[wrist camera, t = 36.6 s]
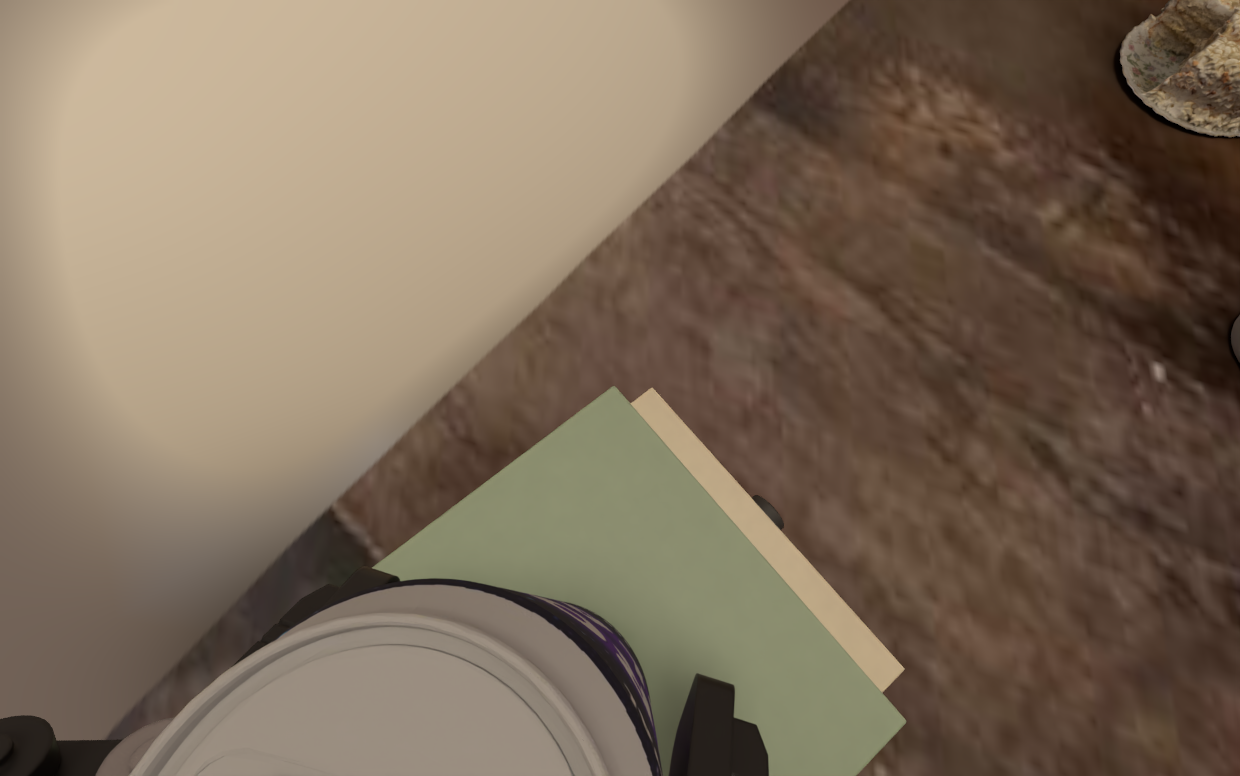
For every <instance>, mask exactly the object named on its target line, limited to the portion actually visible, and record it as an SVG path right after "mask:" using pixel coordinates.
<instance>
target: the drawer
mask: <svg viewBox="0 0 1240 776" xmlns="http://www.w3.org/2000/svg"><path fill="white" fill-rule="evenodd" d="M631 405H632V406H633V407H634V408H635V410H636V411H637V412H638V413H639V414H640V415H641V416H642V418H643V419H644V420H645V421H646V422H647V423H648V424H649V426H650V427H651V428H652V429H653V430H654V431H655V433H656V434H657V435H658V436H659V437H660V438H661V439H662V441H663V442H664V443H665V444H666V445H667V446H668V447H669V449H670V450H671V451H672V452H673V453H674V454H675V455H676V457H677V458H678V459H679V460H680V461H681V462H682V464H683V465H684V466H685V467H686V468H687V469H688V470H689V472H690V473H691V474H692V475H693V476H694V477H695V478H696V480H697V481H698V482H699V483H700V484H701V485H702V487H703V488H704V489H705V490H706V491H707V492H708V493H709V495H710V496H711V497H712V498H713V499H714V500H715V501H716V503H717V504H718V505H719V506H720V507H721V508H722V509H723V511H724V512H725V513H726V514H727V515H728V516H729V518H730V519H731V520H732V521H733V522H734V523H735V524H736V526H737V527H738V528H739V529H740V530H741V531H742V532H743V534H744V535H745V536H746V537H747V538H748V539H749V540H750V542H751V543H752V544H753V545H754V546H755V547H756V549H757V550H758V551H759V552H760V553H761V554H762V555H763V557H764V558H765V559H766V560H767V561H768V562H769V563H770V565H771V566H772V567H773V568H774V569H775V570H776V571H777V573H778V574H779V575H780V576H781V577H782V578H783V580H784V581H785V582H786V583H787V584H788V585H789V586H790V588H791V589H792V590H793V591H794V592H795V593H796V594H797V596H798V597H799V598H800V599H801V600H802V601H803V602H804V604H805V605H806V606H807V607H808V608H809V609H810V611H811V612H812V613H813V614H814V615H815V616H816V617H817V619H818V620H819V621H820V622H821V623H822V624H823V625H824V627H825V628H826V629H827V630H828V631H829V632H830V634H831V635H832V636H833V637H834V638H835V639H836V640H837V642H838V643H839V644H840V645H841V646H842V647H843V648H844V650H845V651H846V652H847V653H848V654H849V655H850V656H851V658H852V659H853V660H854V661H855V662H856V663H857V665H858V666H859V667H860V668H861V669H862V670H863V671H864V673H865V674H866V675H867V676H868V677H869V678H870V679H871V681H872V682H873V683H874V684H875V685H876V686H877V687H878V689H879V690H880V691H881V692H883V691H884V690H885V689H886V688H887V687H888V686H889V685H890V684H891V683H892V682H893V681H894V680H895V679H896V678H897V677H898V676H899V675H900V674H901V673H902V672H903V671H904V667H903V666H902V665H901V664H900V663H899V662H898V661H897V660H896V659H895V657H894V656H893V655H892V654H891V653H890V652H889V651H888V650H887V648H886V647H885V646H884V645H883V644H882V643H881V642H880V641H879V640H878V638H877V637H876V636H875V635H874V634H873V633H872V632H871V631H870V630H869V628H868V627H867V626H866V625H865V624H864V623H863V622H862V621H861V620H860V618H859V617H858V616H857V615H856V614H855V613H854V612H853V611H852V609H851V608H850V607H849V606H848V605H847V604H846V603H845V602H844V601H843V599H842V598H841V597H840V596H839V595H838V594H837V593H836V592H835V591H834V589H833V588H832V587H831V586H830V585H829V584H828V583H827V582H826V581H825V579H824V578H823V577H822V576H821V575H820V574H819V573H818V572H817V570H816V569H815V568H814V567H813V566H812V565H811V564H810V563H809V562H808V560H807V559H806V558H805V557H804V556H803V555H802V554H801V553H800V552H799V550H798V549H797V548H796V547H795V546H794V545H793V544H792V543H791V541H790V540H789V539H788V538H787V537H786V536H785V535H784V534H783V533H782V531H781V529H782V528H783V527H784V523H783V520H782V518H781V517H780V515H779V514H778V512H777V511H776V510H775V509H774V507H773V506H772V505H771V504H770V503H768V502H767V501H766V500H765V499H763V498H762V497H760V496H758V495H755V496H753V497H752V498H751V497H750V496H749V495H748V494H747V492H746V491H745V490H744V489H743V488H742V487H741V486H740V485H739V484H738V482H737V481H736V480H735V479H734V478H733V477H732V476H731V475H730V474H729V472H728V471H727V470H726V469H725V468H724V467H723V466H722V465H721V463H720V462H719V461H718V460H717V459H716V458H715V457H714V456H713V455H712V453H711V452H710V451H709V450H708V449H707V448H706V447H705V446H704V445H703V443H702V442H701V441H700V440H699V439H698V438H697V437H696V436H695V435H694V433H693V432H692V431H691V430H690V429H689V428H688V427H687V426H686V424H685V423H684V422H683V421H682V420H681V419H680V418H679V417H678V416H677V414H676V413H675V412H674V411H673V410H672V409H671V408H670V407H669V406H668V404H667V403H666V402H665V401H664V400H663V399H662V398H661V397H660V396H659V394H658V393H657V392H656V391H655V390H654V389H653V388H650V389H649V390H648V391H646V392H645V393H644V394H642V395H641V396H640V397H639V398H637V399H636V400H635V401H633V402H632V403H631Z"/></svg>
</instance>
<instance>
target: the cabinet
mask: <svg viewBox="0 0 1240 776" xmlns="http://www.w3.org/2000/svg"><path fill="white" fill-rule="evenodd" d="M372 568H373V569H376V570H379V571H382V572H386V573H389V574H392V575H395V576H398V577H399V578H400V581H406V580H413V579H429V578H440V579H457V580H466V581H472V582H477V583H482V584H487V585H491V586H496V587H500V588H505V589H509V590H514V591H518V592H523V593H527V594H532V595H536V596H540V597H545V598H549V599H554V600H558V601H563V602H567V603H572V604H575V605H578V606H581V607H584V608H586V609H588V610H590V611H592V612H594V613H596V614H597V615H599V616H601V617H602V618H603V619H605V620H606V621H607V622H609V623H610V624H611V625H612V626H613V627H614V628H615V629H616V630H617V631H618V632H619V633H620V634H621V635H622V636H623V637H624V638H625V640H626V641H627V643H628V644H629V645H630V647H631V648H632V650H633V652H634V653H635V655H636V657H637V659H638V661H639V663H640V665H641V668H642V670H643V673H644V676H645V679H646V682H647V686H648V691H649V695H650V701H651V707H652V713H653V719H654V725H655V731H656V737H657V742H658V748H659V754H660V760H661V766H662V772H663V776H669V771H670V764H671V757H672V751H673V746H674V741H675V737H676V732H677V729H678V725H679V722H680V719H681V716H682V713H683V710H684V707H685V704H686V701H687V698H688V695H689V692H690V689H691V686H692V683H693V680H694V677H695V675H696V673H699V674H702V675H705V676H708V677H711V678H714V679H717V680H721V681H724V682H727V683H730V684H733V685H734V687H735V705H734V718H737V719H741V720H744V721H747V722H750V723H753V724H756V725H757V727H758V730H759V732H760V735H761V737H762V740H763V743H764V745H765V748H766V750H767V753H768V762H769V776H856V775H857V774H858V773H859V772H860V771H861V770H862V769H863V768H864V767H865V766H866V765H867V764H868V763H869V762H870V761H871V759H872V758H873V757H874V756H875V755H876V754H877V753H878V752H879V751H880V750H881V749H882V748H883V747H884V746H885V745H886V744H887V743H888V741H889V740H890V739H891V738H892V737H893V736H894V735H895V734H896V733H897V732H898V731H899V730H900V729H901V728H902V727H903V726H904V725H905V723H906V720H905V718H904V717H903V716H902V715H901V714H900V713H899V712H898V710H897V709H896V708H895V707H894V706H893V705H892V704H891V702H890V701H889V700H888V699H887V698H886V697H885V696H884V694H883V693H882V692H881V691H880V690H879V689H878V687H877V686H876V685H875V684H874V683H873V682H872V681H871V679H870V678H869V677H868V676H867V675H866V674H865V673H864V671H863V670H862V669H861V668H860V667H859V666H858V665H857V663H856V662H855V661H854V660H853V659H852V658H851V656H850V655H849V654H848V653H847V652H846V651H845V650H844V648H843V647H842V646H841V645H840V644H839V643H838V642H837V640H836V639H835V638H834V637H833V636H832V635H831V634H830V632H829V631H828V630H827V629H826V628H825V627H824V625H823V624H822V623H821V622H820V621H819V620H818V619H817V617H816V616H815V615H814V614H813V613H812V612H811V611H810V609H809V608H808V607H807V606H806V605H805V604H804V602H803V601H802V600H801V599H800V598H799V597H798V596H797V594H796V593H795V592H794V591H793V590H792V589H791V588H790V586H789V585H788V584H787V583H786V582H785V581H784V580H783V578H782V577H781V576H780V575H779V574H778V573H777V571H776V570H775V569H774V568H773V567H772V566H771V565H770V563H769V562H768V561H767V560H766V559H765V558H764V557H763V555H762V554H761V553H760V552H759V551H758V550H757V549H756V547H755V546H754V545H753V544H752V543H751V542H750V540H749V539H748V538H747V537H746V536H745V535H744V534H743V532H742V531H741V530H740V529H739V528H738V527H737V526H736V524H735V523H734V522H733V521H732V520H731V519H730V518H729V516H728V515H727V514H726V513H725V512H724V511H723V509H722V508H721V507H720V506H719V505H718V504H717V503H716V501H715V500H714V499H713V498H712V497H711V496H710V495H709V493H708V492H707V491H706V490H705V489H704V488H703V487H702V485H701V484H700V483H699V482H698V481H697V480H696V478H695V477H694V476H693V475H692V474H691V473H690V472H689V470H688V469H687V468H686V467H685V466H684V465H683V464H682V462H681V461H680V460H679V459H678V458H677V457H676V455H675V454H674V453H673V452H672V451H671V450H670V449H669V447H668V446H667V445H666V444H665V443H664V442H663V441H662V439H661V438H660V437H659V436H658V435H657V434H656V433H655V431H654V430H653V429H652V428H651V427H650V426H649V424H648V423H647V422H646V421H645V420H644V419H643V418H642V416H641V415H640V414H639V413H638V412H637V411H636V410H635V408H634V407H633V406H632V405H631V404H630V403H629V402H628V400H627V399H626V398H625V397H624V396H623V395H622V393H621V392H620V391H619V390H618V389H617V388H616V387H615V386H612V387H611V388H610V389H608V390H607V391H606V392H604V393H603V394H602V395H601V396H599V397H598V398H597V399H595V400H594V401H593V402H591V403H590V404H589V405H587V406H586V407H585V408H583V409H582V410H581V411H579V412H578V413H577V414H575V415H574V416H573V417H571V418H570V419H569V420H567V421H566V422H565V423H563V424H562V425H561V426H559V427H558V428H557V429H555V430H554V431H553V432H551V433H550V434H549V435H547V436H546V437H545V438H543V439H542V440H541V441H540V442H538V443H537V444H536V445H534V446H533V447H532V448H530V449H529V450H528V451H526V452H525V453H524V454H522V455H521V456H520V457H518V458H517V459H516V460H514V461H513V462H512V463H510V464H509V465H508V466H506V467H505V468H504V469H502V470H501V471H500V472H498V473H497V474H496V475H494V476H493V477H492V478H490V479H489V480H488V481H486V482H485V483H484V484H482V485H481V486H480V487H479V488H477V489H476V490H475V491H473V492H472V493H471V494H469V495H468V496H467V497H465V498H464V499H463V500H461V501H460V502H459V503H457V504H456V505H455V506H453V507H452V508H451V509H449V510H448V511H447V512H445V513H444V514H443V515H441V516H440V517H439V518H437V519H436V520H435V521H433V522H432V523H431V524H429V525H428V526H427V527H425V528H424V529H423V530H421V531H420V532H419V533H417V534H416V535H415V536H414V537H412V538H411V539H410V540H408V541H407V542H406V543H404V544H403V545H402V546H400V547H399V548H398V549H396V550H395V551H394V552H392V553H391V554H390V555H388V556H387V557H386V558H384V559H383V560H382V561H380V562H379V563H378V564H376V565H375V566H374V567H372Z"/></svg>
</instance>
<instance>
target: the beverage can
mask: <svg viewBox="0 0 1240 776" xmlns="http://www.w3.org/2000/svg"><path fill="white" fill-rule="evenodd" d="M129 776H663V772H662V766H661V760H660V754H659V748H658V742H657V737H656V731H655V725H654V719H653V713H652V707H651V701H650V695H649V691H648V686H647V682H646V679H645V676H644V673H643V670H642V668H641V665H640V663H639V661H638V659H637V657H636V655H635V653H634V652H633V650H632V648H631V647H630V645H629V644H628V643H627V641H626V640H625V638H624V637H623V636H622V635H621V634H620V633H619V632H618V631H617V630H616V629H615V628H614V627H613V626H612V625H611V624H610V623H609V622H607V621H606V620H605V619H603V618H602V617H601V616H599V615H597V614H596V613H594V612H592V611H590V610H588V609H586V608H584V607H581V606H578V605H575V604H572V603H567V602H563V601H558V600H554V599H549V598H545V597H540V596H536V595H532V594H527V593H523V592H518V591H514V590H509V589H505V588H500V587H496V586H491V585H487V584H482V583H477V582H472V581H466V580H457V579H440V578H429V579H413V580H406V581H399V582H393V583H389V584H384V585H379V586H376V587H372V588H369V589H366V590H363V591H359V592H357V593H354V594H352V595H349V596H347V597H344V598H341V599H339V600H337V601H335V602H333V603H331V604H329V605H327V606H325V607H323V608H321V609H319V610H317V611H316V612H314V613H312V614H310V615H309V616H307V617H305V618H304V619H302V620H301V621H299V622H298V623H296V624H295V625H293V626H292V627H290V628H289V629H287V630H286V631H285V632H283V633H282V634H281V635H279V636H278V637H277V638H275V639H274V640H273V641H272V642H270V643H269V644H268V645H266V646H264V647H262V648H261V649H259V650H257V651H256V652H254V653H252V654H251V655H249V656H248V657H246V658H245V659H243V660H242V661H240V662H239V663H237V664H236V665H234V666H233V667H231V668H230V669H228V670H227V671H226V672H224V673H223V674H222V675H221V676H219V677H218V678H217V679H216V680H215V681H214V682H212V683H211V684H210V685H209V686H208V687H207V688H205V689H204V690H203V691H202V692H201V693H200V694H198V695H197V696H196V697H195V698H194V699H193V700H191V701H190V702H189V703H188V704H187V705H186V706H185V707H184V709H183V710H182V711H181V712H180V713H179V714H178V715H177V716H176V717H175V718H174V719H173V721H172V722H171V723H170V724H169V725H168V726H167V727H166V728H165V729H164V730H163V731H162V733H161V734H160V735H159V736H158V737H157V738H156V739H155V740H154V742H153V743H152V745H151V746H150V747H149V749H148V750H147V751H146V753H145V754H144V756H143V757H142V758H141V760H140V761H139V762H138V764H137V765H136V767H135V768H134V769H133V771H132V772H131V774H130V775H129Z"/></svg>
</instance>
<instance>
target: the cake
mask: <svg viewBox="0 0 1240 776" xmlns="http://www.w3.org/2000/svg"><path fill="white" fill-rule="evenodd" d="M1161 12H1162V14H1160V15H1158V16H1157V17H1155V16H1153V15H1152V14H1150V15H1149V18H1148V19H1147V20H1145V21H1143V22H1142V23H1141V24H1140V25H1138V26H1135V27H1133V29H1132V30H1131V32H1129V33H1127V35H1126V38H1125V40H1123V42H1122V45H1123V46H1122V47H1121V48H1122V49H1120V54H1121V55H1120V56H1121V58H1120V63H1121V64H1122V67H1123V69H1122V71H1123V74H1124V76H1125V77H1126V80H1127V83H1128V84H1129V86H1130V87H1131V88H1132V89H1133V92H1134V93H1135V94H1136V95H1137V96H1138V97H1139V98H1141V99H1142V100H1143V102H1144V104H1146V105H1148V106H1149V107H1152V108H1153V110H1154V111H1155V112H1156V113H1158V114H1160V115H1162V116H1164V117H1165V118H1166V119H1167V120H1170V121H1172V122H1173V123H1177V124H1179V125H1181V126H1183V127H1185V129H1190V130H1193V131H1196V132H1199V133H1201V134H1203V133H1207V134H1208V135H1212V136H1213V135H1214V136H1215V137H1216V136H1218V135H1219V136H1222V135H1224V136H1229V137H1235V136H1239V137H1240V0H1170V1H1168V3H1167V4H1166V5H1165V8H1162V9H1161Z"/></svg>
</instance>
